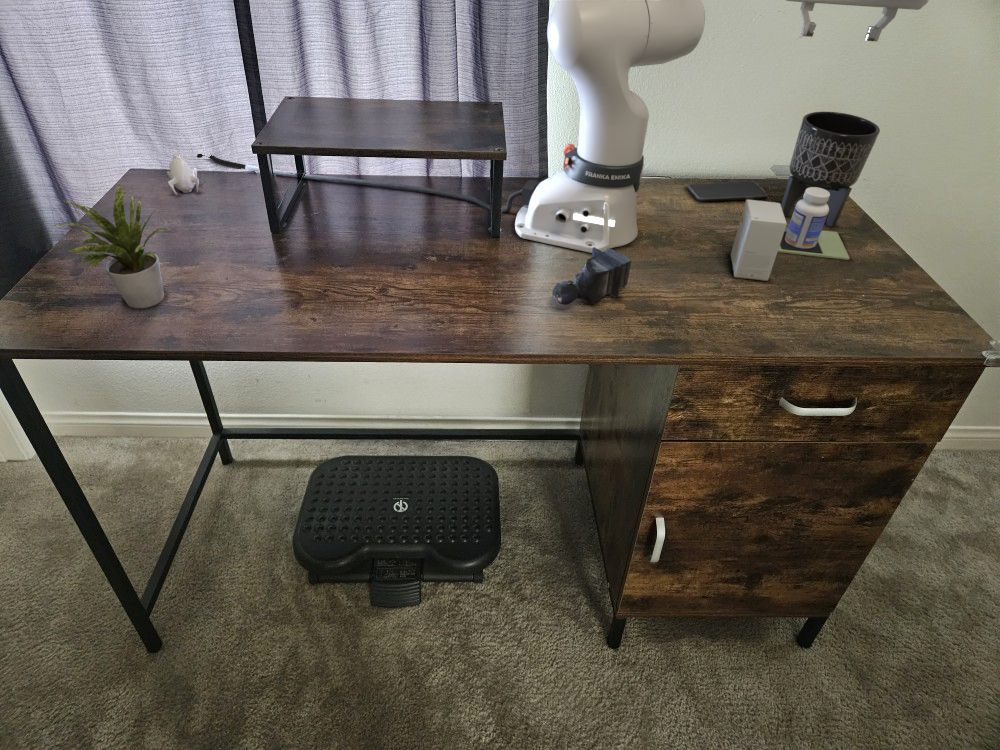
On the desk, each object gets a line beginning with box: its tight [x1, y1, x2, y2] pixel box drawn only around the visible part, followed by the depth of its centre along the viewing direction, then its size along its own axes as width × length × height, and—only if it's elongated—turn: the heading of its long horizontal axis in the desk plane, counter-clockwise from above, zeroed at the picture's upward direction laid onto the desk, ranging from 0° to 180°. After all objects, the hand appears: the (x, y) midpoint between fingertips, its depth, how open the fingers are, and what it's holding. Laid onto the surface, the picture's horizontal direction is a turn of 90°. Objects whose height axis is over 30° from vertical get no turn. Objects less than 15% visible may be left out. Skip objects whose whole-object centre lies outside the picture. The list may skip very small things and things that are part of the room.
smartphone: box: [687, 180, 769, 203], centre depth 133 cm, size 7×1×15 cm
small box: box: [730, 199, 788, 282], centre depth 107 cm, size 8×6×10 cm
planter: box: [780, 111, 881, 228], centre depth 121 cm, size 13×13×18 cm
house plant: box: [51, 183, 170, 309], centre depth 93 cm, size 14×14×16 cm
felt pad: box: [777, 226, 851, 261], centre depth 118 cm, size 14×10×1 cm
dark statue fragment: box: [552, 247, 632, 306], centre depth 99 cm, size 6×13×6 cm, turn 130°
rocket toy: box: [166, 150, 200, 196], centre depth 124 cm, size 5×5×8 cm
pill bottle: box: [785, 187, 830, 249], centre depth 114 cm, size 5×5×10 cm
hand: (838, 38), depth 99 cm, fingers open, 8 cm apart
